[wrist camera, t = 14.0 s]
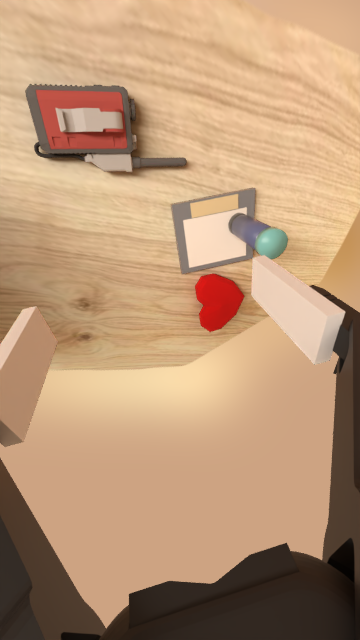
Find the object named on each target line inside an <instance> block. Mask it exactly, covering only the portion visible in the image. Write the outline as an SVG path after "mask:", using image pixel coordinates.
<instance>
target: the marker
mask: <svg viewBox="0 0 360 640" xmlns="http://www.w3.org/2000/svg"><path fill="white" fill-rule="evenodd" d="M228 228H229V231H230V232H231V233H232V234H234V235H235V236H236V237H238V238H239V239H241V240H242V241H243V242H245V243H246V244H248V245H249V246H250V247H252V248H253V249H255V250H256V251H257V253H258V254H260V255H261V256H262V255H265V256H267V257H268V258H269V259H274V258H277V257H278V256H280V255H281V254H282V253H283V252H284V250H285V248H286V246H287V242H288V238H287V235H286V233H285V232H283V231H282V230H280V229H277V228H275V227H270V226H268V225H266V224H264V223H262V222H260V221H258V220H256V219H254V218H252V217H250V216H248V215H246V214H243V213H236V214H234V215H233V216H232V217H231V219H230V220H229V223H228Z"/></svg>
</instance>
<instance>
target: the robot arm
mask: <svg viewBox="0 0 360 640" xmlns="http://www.w3.org/2000/svg"><path fill="white" fill-rule="evenodd" d="M251 296H252V297H253V298H254V299H255V300H256V302H257V303H258V304H259V305H260V306H261V307H262V308H263V309H264V310H265V311H266V312H267V313H268V315H269V316H270V317H271V318H272V319H273V320H274V321H275V322H276V323H277V324H278V325H279V327H280V328H281V329H282V330H283V331H284V332H285V333H286V334H287V335H288V336H289V337H290V338H291V339H292V341H293V342H294V343H295V344H296V345H297V346H298V347H299V348H300V349H301V350H302V351H303V352H304V354H305V355H306V356H307V357H308V358H309V359H310V360H311V361H312V362H313V363H314V365H315V364H319V363H322V362H326V361H330V359H331V355H332V352H333V351H334V352H335V353H337V355H338V356H339V359H338V362H337V365H336V367H335V370H334V374H336V373H337V377H336V396H335V414H334V431H333V450H332V467H331V487H330V503H329V518H328V525H327V529H326V533H325V538H324V547H323V559H322V560H320V559H318V558H315V557H313V556H310V555H307V554H304V553H299V552H293V551H290V549H289V547H288V545H287V543H285V544H282V545H279V546H276V547H273V548H270V549H267V550H264V551H260V552H257V553H255V554H251V555H249V556H248V557H247V558H245V559H244V560H243V561H241V562H240V563H239V564H238V565H236V566H235V567H234V568H233V569H232V570H230V571H229V572H228V573H227V574H225V575H224V576H223V577H222V578H220V579H219V580H218V581H216V582H215V583H212V584H206V583H191V582H176V581H168V582H165V583H162V584H159V585H155V586H152V587H149V588H146V589H143V590H140V591H137V592H134V593H131V594H129V605H128V606H127V607H126V608H124V609H123V610H122V611H121V612H120V613H119V614H118V615H117V616H116V618H115V619H114V620H113V621H112V622H111V624H110V625H109V626H108V627H107V629H106V628H105V626H104V625H103V623H102V621H101V620H100V618H99V617H98V616H97V614H96V613H95V612H94V611H93V609H91V607H89V605H88V604H87V603H85V602H84V600H83V599H82V597H81V596H80V594H79V593H78V591H77V589H76V587H75V586H74V584H73V582H72V581H71V579H70V577H69V575H68V574H67V572H66V570H65V569H64V567H63V565H62V563H61V562H60V560H59V558H58V557H57V555H56V553H55V551H54V550H53V548H52V546H51V544H50V543H49V541H48V539H47V538H46V536H45V534H44V533H43V531H42V529H41V527H40V526H39V524H38V522H37V521H36V519H35V517H34V515H33V514H32V512H31V510H30V508H29V507H28V505H27V503H26V501H25V500H24V498H23V496H22V495H21V493H20V491H19V489H18V488H17V486H16V485H15V483H14V481H13V479H12V477H11V476H10V474H9V473H8V471H7V469H6V467H5V466H4V464H3V462H2V460H1V459H0V640H360V313H359V312H358V311H356V310H355V309H353V308H352V307H350V306H349V305H347V304H346V303H344V302H343V301H341V300H340V299H337V298H336V297H335V296H334V295H331V294H330V293H329V292H328V291H326V290H325V289H323V288H320V287H317V286H314V285H312V286H308V285H307V284H305V283H304V282H302V281H301V280H299V279H298V278H297V277H295V276H294V275H292V274H291V273H289V272H288V271H287V270H285V269H284V268H282V267H281V266H279V265H278V264H277V263H275V262H274V261H272V260H271V259H269V258H268V257H267V256H265V255H262V256H258V257H253V264H252V292H251ZM57 343H58V341H57V339H56V338H55V336H54V334H53V333H52V331H51V329H50V328H49V326H48V324H47V323H46V321H45V319H44V318H43V316H42V314H41V313H40V311H39V309H38V308H37V306H34V307H30V308H25V309H23V310H22V311H21V313H20V314H19V316H18V318H17V319H16V321H15V322H14V324H13V325H12V327H11V329H10V330H9V332H8V333H7V335H6V336H5V338H4V339H3V341H2V343H1V344H0V443H1V444H2V445H3V446H5V447H6V446H10V445H13V444H17V443H21V442H24V439H25V436H26V433H27V430H28V428H29V425H30V422H31V419H32V416H33V412H34V410H35V407H36V404H37V401H38V398H39V395H40V393H41V389H42V387H43V384H44V381H45V378H46V375H47V372H48V369H49V366H50V363H51V360H52V357H53V355H54V352H55V349H56V346H57Z"/></svg>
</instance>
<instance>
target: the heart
mask: <svg viewBox="0 0 360 640" xmlns="http://www.w3.org/2000/svg"><path fill="white" fill-rule="evenodd" d="M195 289H196V295H197V300H198V301H199V302H200V303H202V304H203V307H202V309H201V311H200V313H199V317H200V324H201V326H202V327H204V328H205V329H207V330H208V331H209V332H212V331H215V330H218V329H221V328H222V327H223V326H224V325H225V324H226V323H227V322H228V321H229V320H231V319H232V318H233V317H234V316H235V315H236V313H237V311H238V309H239V307H240V305H241V302H242V300H243V298H244V295H243V294H242V292H241V291H240V290H239V288H238V287H237V286H236V284H235V283H234V282H233V281H231V280H229V279H226V278H224V277H221V276H219V275H216V274H209V275H205V276H201V278H200V279H199V281H198V283H197V284H196V286H195Z"/></svg>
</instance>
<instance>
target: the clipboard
mask: <svg viewBox="0 0 360 640" xmlns="http://www.w3.org/2000/svg"><path fill="white" fill-rule="evenodd" d="M171 209H172V215H173V222H174V228H175V235H176V241H177V248H178V254H179V261H180V267H181V273H182V274H185V273H189V272H194V271H198V270H203V269H207V268H212V267H216V266H221V265H225V264H229V263H234V262H238V261H243V260H247V259H252V258H253V248H252V247H250V246H249V245H248V244H246V243H245V242H243V241H242V240H241V239H239V238H238V237H236V236H235V235H234V234H232V233H231V232H230V231H229V228H228V223H229V220H230V219H231V217H232V216H233V215H234V214H236V213H243V214H246V215H248V216H250V217H252V218H254V211H255V188H249V189H244V190H239V191H234V192H229V193H224V194H219V195H214V196H209V197H204V198H199V199H194V200H189V201H184V202H179V203H174V204H171Z"/></svg>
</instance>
